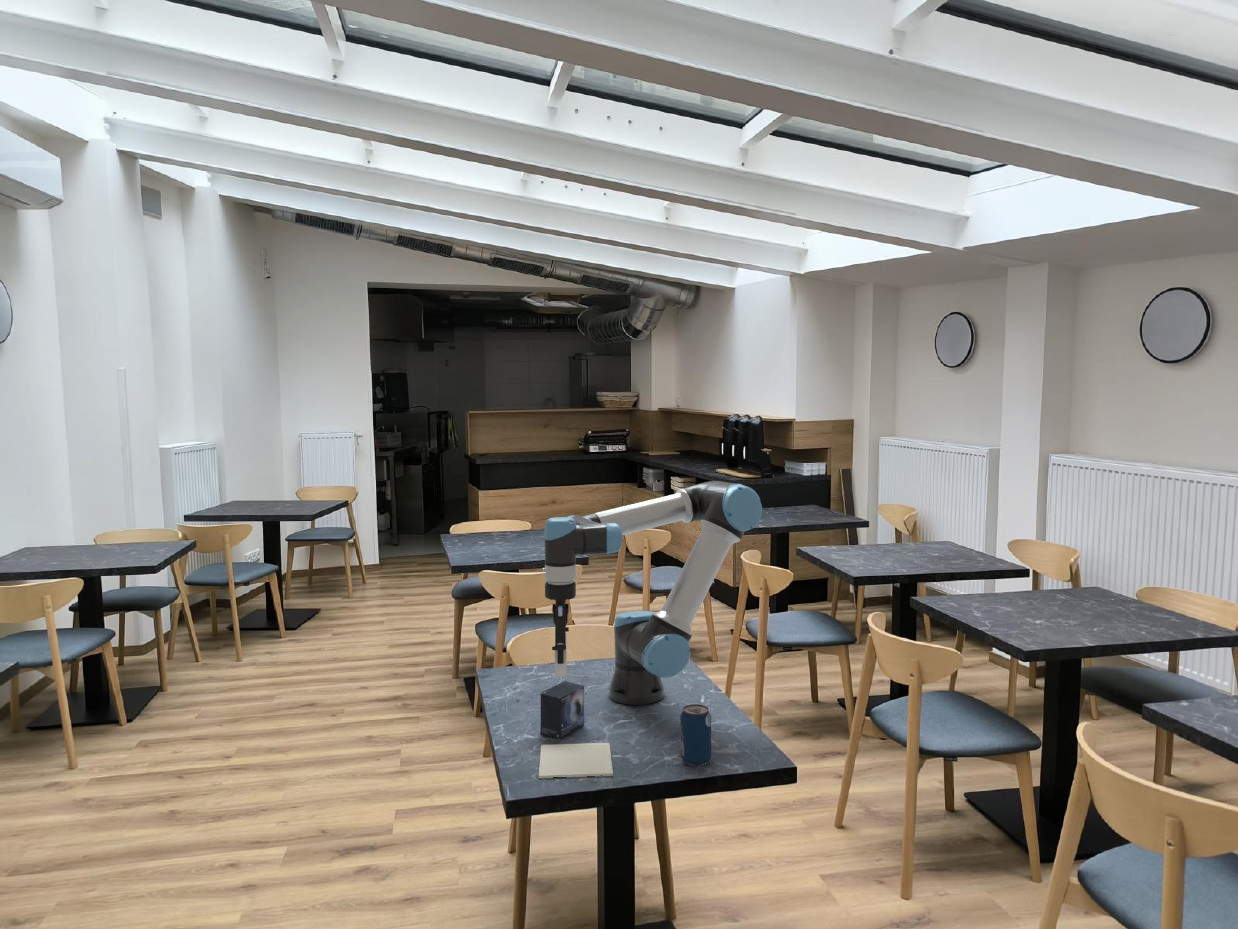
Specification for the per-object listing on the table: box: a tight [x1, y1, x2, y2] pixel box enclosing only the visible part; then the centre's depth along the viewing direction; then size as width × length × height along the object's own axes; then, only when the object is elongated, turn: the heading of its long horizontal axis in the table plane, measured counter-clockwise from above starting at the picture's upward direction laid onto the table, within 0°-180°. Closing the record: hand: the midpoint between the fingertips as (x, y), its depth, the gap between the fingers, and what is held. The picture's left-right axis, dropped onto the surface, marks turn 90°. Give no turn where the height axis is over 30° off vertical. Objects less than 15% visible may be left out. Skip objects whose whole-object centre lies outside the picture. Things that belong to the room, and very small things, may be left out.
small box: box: [539, 680, 585, 740], centre depth 206 cm, size 11×6×10 cm, turn 148°
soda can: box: [679, 704, 712, 766], centre depth 188 cm, size 7×7×12 cm
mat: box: [538, 742, 614, 779], centre depth 189 cm, size 16×16×1 cm
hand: (560, 667), depth 205 cm, fingers open, 13 cm apart
